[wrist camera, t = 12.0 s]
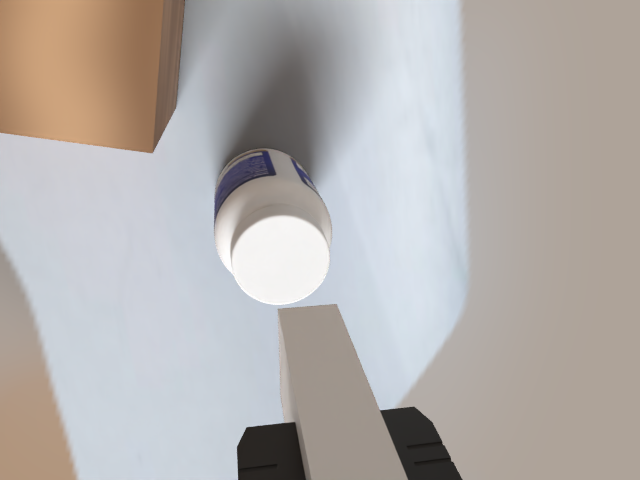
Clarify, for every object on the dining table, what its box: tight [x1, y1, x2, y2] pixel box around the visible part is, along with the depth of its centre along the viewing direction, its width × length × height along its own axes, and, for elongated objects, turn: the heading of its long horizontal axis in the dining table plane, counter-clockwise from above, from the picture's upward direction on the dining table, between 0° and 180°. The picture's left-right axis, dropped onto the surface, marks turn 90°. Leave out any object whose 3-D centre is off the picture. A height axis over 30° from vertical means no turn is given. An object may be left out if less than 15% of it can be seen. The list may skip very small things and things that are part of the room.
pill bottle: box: [214, 148, 332, 305], centre depth 25 cm, size 5×5×9 cm
